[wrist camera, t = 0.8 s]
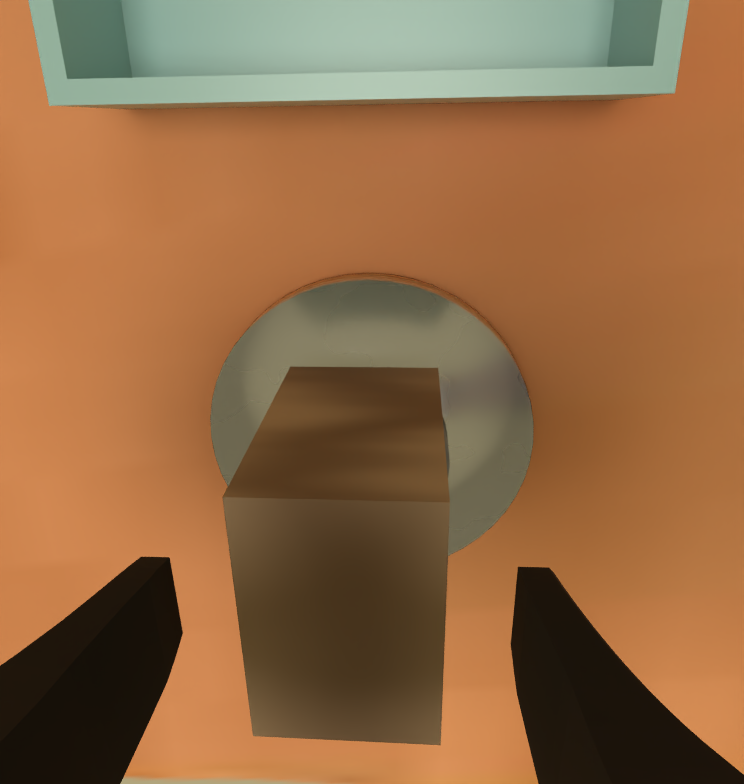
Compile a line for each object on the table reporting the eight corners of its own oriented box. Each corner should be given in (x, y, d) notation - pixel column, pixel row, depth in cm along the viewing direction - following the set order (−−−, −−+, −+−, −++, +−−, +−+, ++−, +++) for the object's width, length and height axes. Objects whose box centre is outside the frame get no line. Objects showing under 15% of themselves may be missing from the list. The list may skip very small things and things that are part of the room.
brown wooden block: (450, 349, 18) (473, 502, 11) (444, 523, 21) (459, 745, 13) (286, 348, 18) (200, 496, 11) (299, 519, 21) (234, 735, 14)
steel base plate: (541, 273, 18) (548, 280, 17) (516, 556, 22) (520, 574, 21) (202, 273, 19) (191, 280, 18) (235, 548, 23) (228, 565, 22)
